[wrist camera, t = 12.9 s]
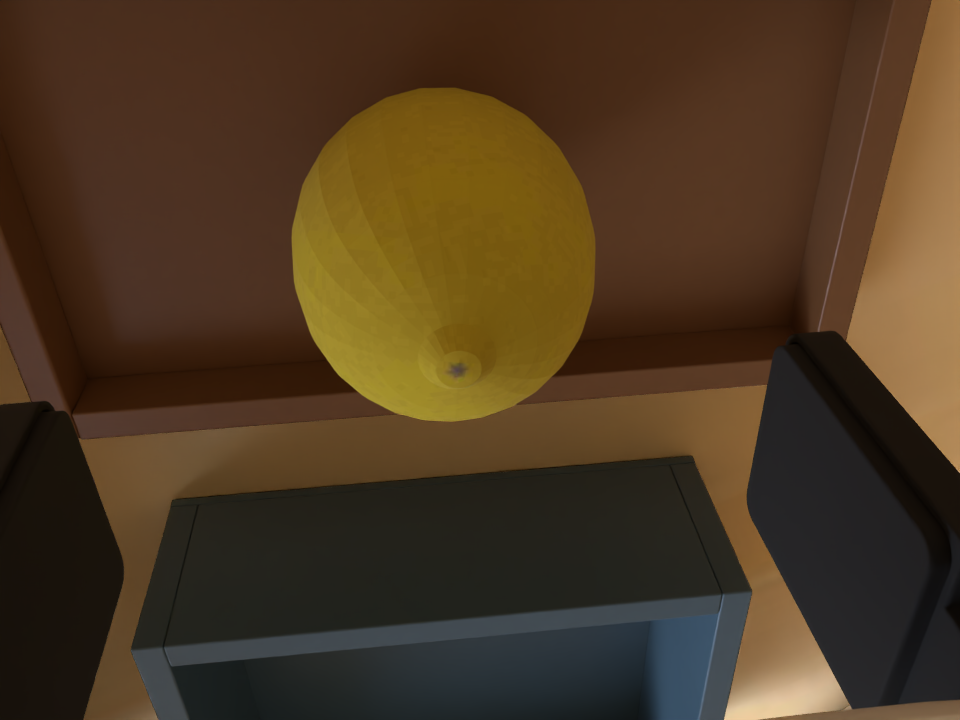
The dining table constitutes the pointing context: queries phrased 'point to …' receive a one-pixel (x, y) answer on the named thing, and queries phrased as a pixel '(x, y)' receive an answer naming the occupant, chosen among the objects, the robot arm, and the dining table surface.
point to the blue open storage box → (449, 600)
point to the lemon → (443, 254)
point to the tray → (397, 69)
